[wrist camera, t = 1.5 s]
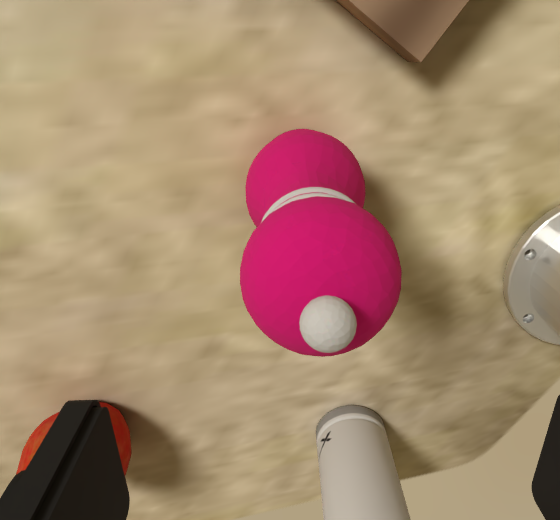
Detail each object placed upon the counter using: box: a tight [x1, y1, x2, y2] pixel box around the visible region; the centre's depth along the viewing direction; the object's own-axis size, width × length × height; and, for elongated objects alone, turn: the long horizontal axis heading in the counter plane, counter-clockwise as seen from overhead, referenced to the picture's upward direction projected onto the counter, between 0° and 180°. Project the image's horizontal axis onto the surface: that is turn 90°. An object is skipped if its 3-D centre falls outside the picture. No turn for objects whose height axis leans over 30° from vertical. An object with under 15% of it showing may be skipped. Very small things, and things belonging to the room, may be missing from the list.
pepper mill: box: [240, 129, 401, 356], centre depth 22 cm, size 7×7×20 cm
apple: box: [16, 402, 131, 475], centre depth 36 cm, size 8×8×11 cm
